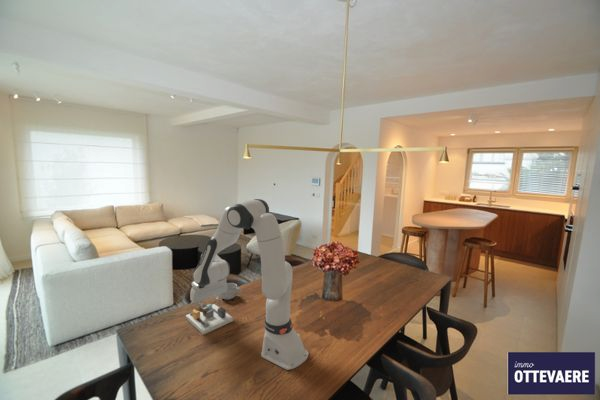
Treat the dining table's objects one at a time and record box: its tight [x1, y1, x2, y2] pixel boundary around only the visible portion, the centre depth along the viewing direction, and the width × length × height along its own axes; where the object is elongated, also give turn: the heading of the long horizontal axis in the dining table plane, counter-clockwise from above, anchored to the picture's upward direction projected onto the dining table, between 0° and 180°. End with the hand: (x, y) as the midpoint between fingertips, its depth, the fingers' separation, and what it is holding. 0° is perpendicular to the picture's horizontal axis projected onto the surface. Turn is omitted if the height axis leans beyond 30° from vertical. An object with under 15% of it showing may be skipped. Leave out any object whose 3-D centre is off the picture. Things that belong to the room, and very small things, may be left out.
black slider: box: [218, 306, 227, 318], centre depth 145 cm, size 4×2×4 cm, turn 47°
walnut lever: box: [194, 305, 208, 314], centre depth 143 cm, size 3×2×10 cm
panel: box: [185, 303, 234, 336], centre depth 144 cm, size 20×17×6 cm
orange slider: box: [191, 308, 200, 319], centre depth 143 cm, size 4×2×4 cm, turn 47°
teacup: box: [220, 282, 242, 301], centre depth 169 cm, size 14×11×8 cm
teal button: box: [205, 303, 213, 309], centre depth 152 cm, size 3×3×2 cm
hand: (209, 304), depth 145 cm, fingers open, 8 cm apart
